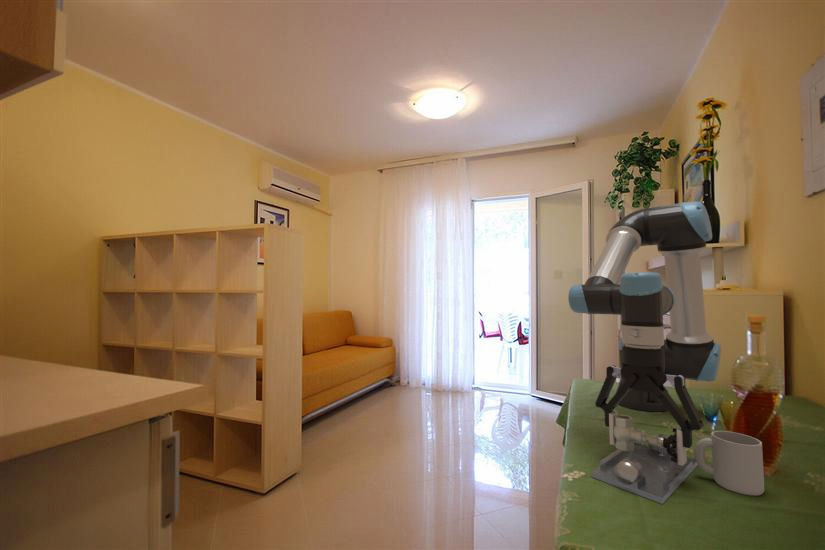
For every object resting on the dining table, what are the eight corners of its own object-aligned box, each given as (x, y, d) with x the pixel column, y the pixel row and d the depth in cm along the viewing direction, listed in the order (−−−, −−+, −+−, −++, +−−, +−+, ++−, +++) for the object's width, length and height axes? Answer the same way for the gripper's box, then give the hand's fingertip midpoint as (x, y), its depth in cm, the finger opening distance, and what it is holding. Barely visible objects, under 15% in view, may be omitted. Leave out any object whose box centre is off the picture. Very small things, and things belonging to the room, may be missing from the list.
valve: (608, 449, 77) (676, 469, 68) (607, 417, 77) (674, 433, 68) (619, 441, 81) (684, 459, 72) (618, 411, 81) (683, 425, 72)
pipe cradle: (635, 446, 86) (634, 427, 86) (697, 465, 76) (696, 442, 77) (591, 477, 71) (590, 453, 71) (662, 504, 62) (661, 476, 62)
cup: (769, 501, 63) (766, 449, 64) (696, 484, 69) (694, 436, 69) (759, 483, 69) (757, 436, 70) (693, 469, 75) (692, 425, 75)
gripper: (577, 341, 82) (579, 439, 81) (710, 355, 64) (716, 481, 62) (592, 339, 87) (594, 431, 86) (720, 351, 69) (725, 468, 67)
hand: (646, 452), depth 74 cm, fingers closed on valve, 12 cm apart
